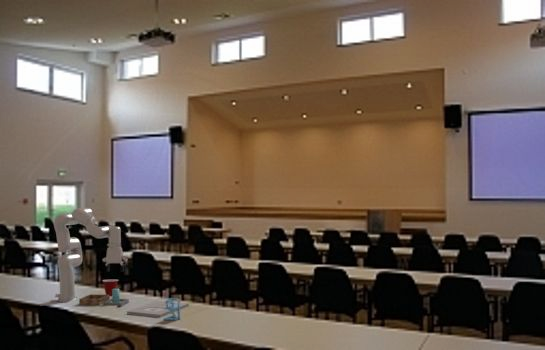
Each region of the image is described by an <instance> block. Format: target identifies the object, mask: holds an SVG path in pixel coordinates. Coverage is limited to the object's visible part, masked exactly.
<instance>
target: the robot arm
mask: <svg viewBox="0 0 545 350" xmlns="http://www.w3.org/2000/svg"><path fill="white" fill-rule="evenodd" d="M96 220H97V219H96V217H95V216H94V215H93V211H92V209H91V208H89V207H79V208H75V209H73V210H72V212H64V213H60V214H58V215H56V216H55V218H54V220H53V228H54V230H55V234H56V242H57V248H58V251H59V252H60V253H65V254H61V255H60V256H59V257H58V259H57V267H58V272H59V276H58V277H59V293H55V296H54V297H55V298H57V302H60V303H68V302H71V301H73V300H76V299H77V298H78V297H77V296H76V293H75V292H76V291H75V289H76V288H75V287H76V285H75V271H74V269H73V268H75V267H79V266H80V265H81V264H82V263H83V251H82V244H81V241H80V239H79V238H77V237H75V236H72V237H71V236H70V231H69V229H68V227H67V226H73V225H74V226H75V225H78V224H81V225H83V226H84V227H85V229H86V231H87V233H88V234H89V235H91V236H92V237H94V238H95V239H104V238H105V239H106V238H108V243H107V244H106V247H107V249H106V257H104V258H102V262H103V264H104V265H105V269H106V270H105V271H106V272H107V273H108V272H111V268H110V267H111V264H120V273H122V272H124V271H125V265H126V264H127V263H128V257H125V256H124V252H123V248H122V237H121V232H122V230H121V227H120V226H112V225H105V226H104V225H103V226H98V225H96ZM69 252H70V253H69Z"/></svg>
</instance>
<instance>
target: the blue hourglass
mask: <svg viewBox="0 0 545 350" xmlns="http://www.w3.org/2000/svg"><path fill="white" fill-rule="evenodd" d="M164 301H165V302H166V305H167V306H166V307H165V309H168V310H170V311H171V313H170V314H172V315H170V316H167V317H164V318H163V320H164V321H178V320H181V309H180V308H181V306H179V303H181V300H180V299H178V298H176V297H169V298H167V299H166V300H164ZM168 302H170V303H172V306H169V307H168V304H167V303H168ZM174 302H178V306H175V305H174ZM175 309H177V311H176V312H177V316H176V313H175V312H173V310H175Z"/></svg>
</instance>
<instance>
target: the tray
mask: <svg viewBox="0 0 545 350" xmlns="http://www.w3.org/2000/svg"><path fill="white" fill-rule="evenodd" d="M129 301H130V299H129V298H120V303H112V298H110V300H108V301H106V302H104V303H103V304H102V305H103V306H116V307H117V308H122V307H123V306H125V305H127V304H128V303H130V302H129Z"/></svg>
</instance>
